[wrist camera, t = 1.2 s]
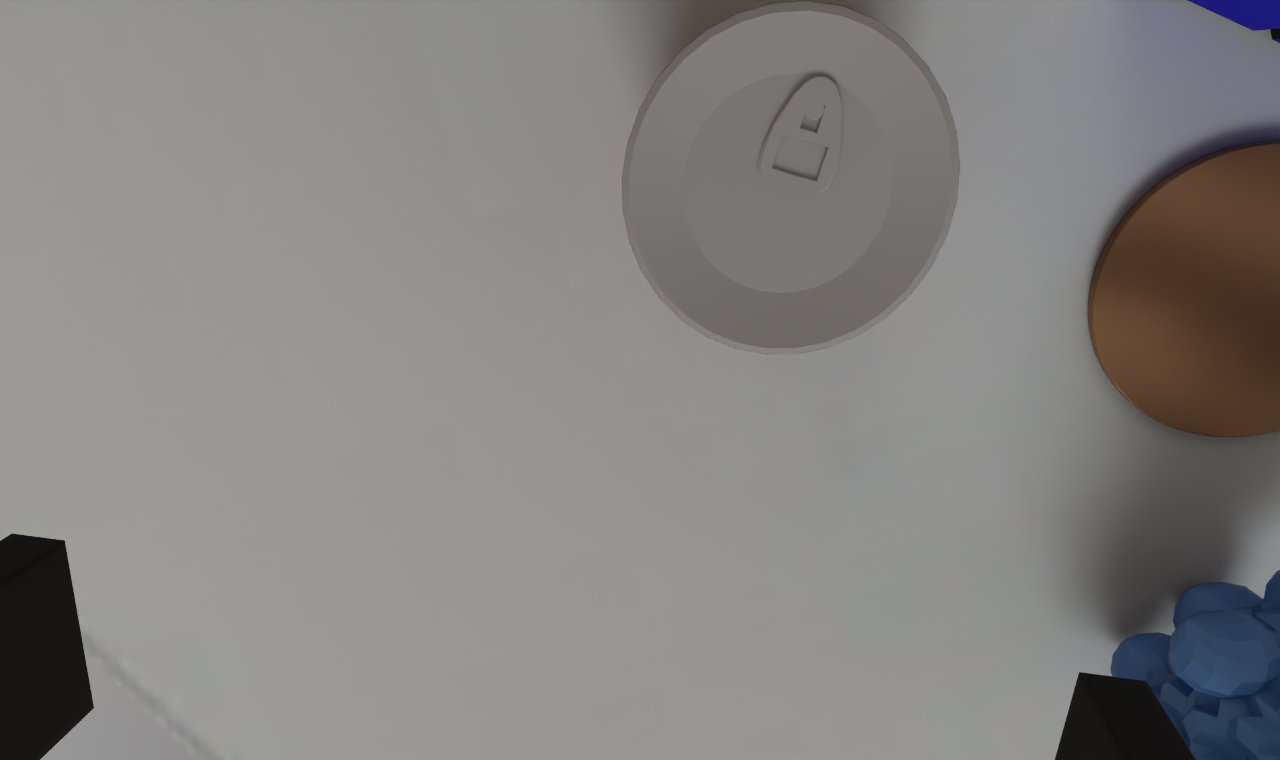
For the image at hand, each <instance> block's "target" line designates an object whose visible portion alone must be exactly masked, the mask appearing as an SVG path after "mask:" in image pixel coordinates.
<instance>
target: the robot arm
mask: <svg viewBox="0 0 1280 760" xmlns="http://www.w3.org/2000/svg"><path fill="white" fill-rule="evenodd" d="M93 708H94V706H93V700H92V695H91V690H90V684H89V677H88V672H87V666H86V660H85V655H84V649H83V643H82V637H81V632H80V626H79V620H78V615H77V609H76V603H75V597H74V592H73V586H72V580H71V575H70V569H69V563H68V557H67V552H66V546H65V541H64V540H56V539H49V538H41V537H33V536H25V535H18V534H11V535H9V536H8V537H6V538H4V539H3V540H1V541H0V760H40V759H41V758H42V757H43V756H44V755H45V754H46V753H47V752H48V751H49V750H50V749H52V747H54V746H55V745H56V744H57V743H58V742H59V741H60V740H61V739H62V738H63V737H64V736H65V735H66V734H67V733H68V732H69V731H70V730H71V729H72V728H73V727H74V726H76V725H77V723H79V722H80V721H81V720H82V719H83V718H84V717H85V716H86V715H87V714H88V713H89V712H90V711H91V710H92V709H93ZM1055 760H1196V759H1195V758H1194V756H1193V755H1192V753H1191V751H1190V750H1189V748H1188V747H1187V745H1186V744H1185V742H1184V740H1183V739H1182V737H1181V736H1180V734H1179V732H1178V731H1177V729H1176V728H1175V726H1174V725H1173V723H1172V721H1171V720H1170V718H1169V717H1168V715H1167V713H1166V712H1165V710H1164V709H1163V707H1162V705H1161V704H1160V702H1159V701H1158V699H1157V698H1156V696H1155V694H1154V693H1153V691H1152V690H1151V688H1150V686H1149V685H1148V683H1147V682H1146V681H1142V680H1134V679H1127V678H1119V677H1111V676H1104V675H1096V674H1088V673H1081V672H1079V675H1078V679H1077V682H1076V686H1075V689H1074V693H1073V697H1072V700H1071V704H1070V707H1069V711H1068V715H1067V718H1066V722H1065V725H1064V729H1063V733H1062V736H1061V740H1060V743H1059V747H1058V751H1057V754H1056V758H1055Z"/></svg>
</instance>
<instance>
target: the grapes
mask: <svg viewBox="0 0 1280 760" xmlns="http://www.w3.org/2000/svg"><path fill="white" fill-rule="evenodd" d="M1173 623H1174V625H1175V628H1176V629H1175V631H1174V632H1173V634H1172V635H1171V636H1170V635H1166V634H1162V633H1159V632H1158V633H1142V634H1137V635H1135V636H1132V637H1129V638H1127V639H1125V640H1124V641H1122V642H1121V644H1120V645H1119V646H1118V648H1117V649H1116V651H1115V652H1114V654H1113V658H1112V664H1111V673H1112V676H1113V677H1119V678H1127V679H1134V680H1142V681H1146V682H1147V683H1148V685H1149V686H1150V688H1151V690H1152V691H1153V693H1154V694H1155V696H1156V698H1157V699H1158V701H1159V702H1160V704H1161V705H1162V707H1163V709H1164V710H1165V712H1166V713H1167V715H1168V717H1169V718H1170V720H1171V721H1172V723H1173V725H1174V726H1175V728H1176V729H1177V731H1178V732H1179V734H1180V736H1181V737H1182V739H1183V740H1184V742H1185V744H1186V745H1187V747H1188V748H1189V750H1190V751H1191V753H1192V755H1193V756H1194V758H1195V759H1196V760H1280V570H1279V571H1277V572H1276V573H1275V574H1274V575H1273V577H1272V578H1271V579H1270V580H1269V582H1268V583H1267V584H1266V590H1265V595H1264V599H1262V598H1261V597H1260V596H1258V595H1257V594H1255V593H1254V592H1252V591H1251V590H1249V589H1248V588H1247V587H1245V586H1240V585H1236V584H1231V583H1227V582H1210V583H1202V584H1199V585H1196V586H1194V587H1191V588H1190V589H1188V590H1186V591H1185V592H1184V593H1183V595H1182V596H1181V598H1180V599H1179V601H1178V602H1177V603H1176V605H1175V611H1174V617H1173Z"/></svg>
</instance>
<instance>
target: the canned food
mask: <svg viewBox="0 0 1280 760" xmlns="http://www.w3.org/2000/svg"><path fill="white" fill-rule="evenodd" d="M959 172H960V161H959V151H958V141H957V132H956V128H955V125H954V121H953V118H952V115H951V112H950V109H949V106H948V102H947V99H946V96H945V95H944V93H943V91H942V89H941V88H940V86H939V84H938V82H937V81H936V79H935V77H934V75H933V73H932V72H931V70H930V68H929V66H928V65H927V64H926V63H925V62H924V61H923V60H922V59H921V58H920V56H919V55H918V54H917V53H916V52H915V51H914V50H913V49H912V48H911V46H910V45H909V44H908V43H907V42H906V41H905V40H904V39H903V38H901V37H900V36H899V35H897V34H896V33H894V32H893V31H891V30H890V29H889V28H887V27H886V26H884V25H883V24H881V23H880V22H879V21H877V20H876V19H874V18H871V17H869V16H866V15H864V14H861V13H859V12H856V11H854V10H852V9H849V8H847V7H844V6H840V5H833V4H827V3H821V2H815V1H793V2H776V3H771V4H767V5H764V6H760V7H756V8H753V9H749V10H746V11H742V12H739V13H737V14H735V15H733V16H731V17H730V18H728V19H726V20H724V21H722V22H720V23H718V24H716V25H714V26H712V27H710V28H708V29H707V30H706V31H705V32H703V33H702V34H701V35H700V36H698V37H697V38H696V39H695V40H693V41H692V42H691V43H690V44H688V45H687V46H686V47H685V48H683V49H682V50H681V51H680V52H679V53H678V54H677V55H676V57H675V58H674V59H673V60H672V61H671V62H670V64H669V65H668V66H667V67H666V68H665V69H664V71H663V72H662V73H661V74H660V75H659V76H658V78H657V79H656V81H655V83H654V84H653V86H652V88H651V90H650V91H649V93H648V95H647V97H646V98H645V100H644V102H643V104H642V105H641V107H640V109H639V112H638V115H637V118H636V121H635V123H634V126H633V129H632V132H631V135H630V138H629V140H628V143H627V149H626V155H625V162H624V168H623V175H622V197H623V214H624V219H625V223H626V228H627V233H628V237H629V242H630V245H631V247H632V250H633V252H634V254H635V257H636V259H637V261H638V264H639V266H640V269H641V271H642V273H643V275H644V276H645V278H646V279H647V280H648V282H649V283H650V285H651V286H652V288H653V289H654V291H655V292H656V294H657V295H658V297H659V298H660V299H661V300H662V301H663V302H664V303H665V304H666V305H667V306H668V307H669V308H670V309H671V310H672V311H673V312H674V313H675V314H676V315H677V316H678V317H679V318H680V319H681V320H682V321H683V322H685V323H686V324H688V325H689V326H691V327H693V328H694V329H696V330H697V331H699V332H700V333H702V334H703V335H705V336H706V337H708V338H710V339H713V340H715V341H718V342H720V343H723V344H725V345H728V346H730V347H733V348H735V349H740V350H746V351H751V352H756V353H761V354H799V353H804V352H809V351H814V350H819V349H824V348H829V347H831V346H833V345H836V344H838V343H841V342H843V341H846V340H848V339H851V338H853V337H856V336H858V335H860V334H861V333H863V332H864V331H866V330H867V329H869V328H871V327H872V326H874V325H875V324H877V323H878V322H880V321H881V320H883V319H885V318H886V317H887V316H888V315H889V314H890V313H891V312H893V311H894V310H895V309H896V308H897V307H898V306H899V305H900V304H901V303H902V302H903V301H904V300H905V299H906V298H908V297H909V296H910V295H911V293H912V292H913V291H914V289H915V288H916V287H917V285H918V284H919V283H920V281H921V280H922V279H923V277H924V276H925V275H926V273H927V272H928V271H929V269H930V268H931V267H932V265H933V263H934V261H935V259H936V257H937V255H938V253H939V251H940V249H941V247H942V245H943V243H944V241H945V239H946V237H947V234H948V230H949V227H950V223H951V220H952V216H953V213H954V209H955V206H956V202H957V194H958V183H959Z"/></svg>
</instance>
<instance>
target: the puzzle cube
mask: <svg viewBox="0 0 1280 760" xmlns="http://www.w3.org/2000/svg"><path fill="white" fill-rule="evenodd" d="M1189 1H1191V2H1193V3H1195V4H1197V5H1199V6H1202V7H1204V8H1206V9H1208V10H1210V11H1212V12H1215V13H1217V14H1219V15H1221V16H1223V17H1225V18H1228V19H1230V20H1232V21H1234V22H1236V23H1238V24H1241V25H1243V26H1245V27H1247V28H1249V29H1251V30H1265V29H1270V30H1271V35H1272V39H1273V40H1275V41H1277V42H1279V43H1280V0H1189Z"/></svg>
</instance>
